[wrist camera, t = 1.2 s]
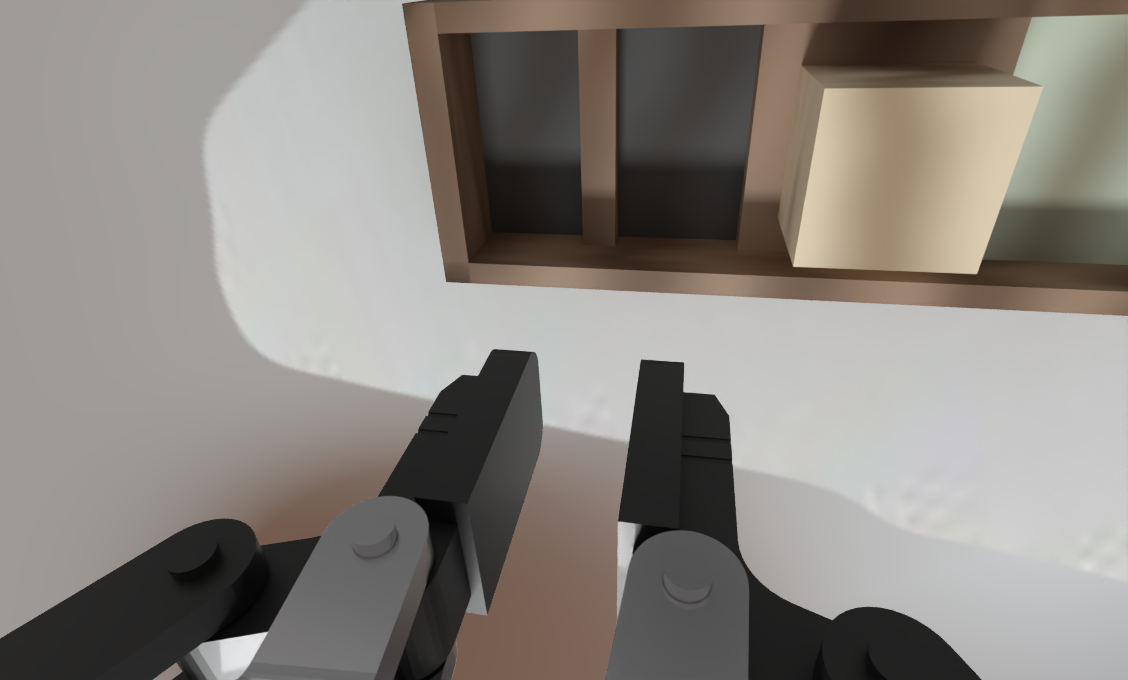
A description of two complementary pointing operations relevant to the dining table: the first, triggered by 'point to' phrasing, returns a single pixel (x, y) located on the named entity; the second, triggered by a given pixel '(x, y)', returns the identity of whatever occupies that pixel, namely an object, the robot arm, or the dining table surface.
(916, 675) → the robot arm
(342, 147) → the dining table surface
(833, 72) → the oak block
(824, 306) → the dining table surface
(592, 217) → the track
